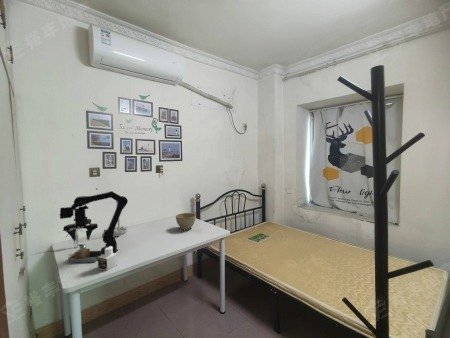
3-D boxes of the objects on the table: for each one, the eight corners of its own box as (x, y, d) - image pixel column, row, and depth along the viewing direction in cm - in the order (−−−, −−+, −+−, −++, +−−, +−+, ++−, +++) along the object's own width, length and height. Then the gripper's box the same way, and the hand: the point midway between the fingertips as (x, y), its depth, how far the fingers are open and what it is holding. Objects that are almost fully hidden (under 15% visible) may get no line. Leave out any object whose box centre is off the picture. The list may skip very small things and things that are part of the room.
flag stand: (118, 238, 178) (117, 201, 177) (106, 236, 183) (105, 200, 182) (131, 233, 190) (129, 198, 189) (119, 231, 195) (118, 198, 194)
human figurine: (67, 250, 155) (66, 225, 154) (65, 249, 157) (64, 224, 157) (86, 245, 165) (85, 221, 164) (84, 244, 167) (82, 220, 166)
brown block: (89, 255, 145) (89, 248, 145) (84, 260, 139) (83, 252, 139) (80, 256, 145) (80, 248, 145) (74, 260, 139) (74, 252, 139)
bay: (109, 250, 154) (109, 242, 153) (95, 262, 136) (95, 253, 136) (80, 251, 153) (80, 243, 153) (62, 263, 136) (62, 254, 136)
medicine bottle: (97, 268, 128) (97, 248, 128) (108, 263, 135) (107, 244, 134) (107, 270, 126) (106, 250, 125) (117, 265, 132) (116, 245, 132)
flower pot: (179, 233, 188) (179, 219, 187) (173, 227, 203) (173, 214, 203) (199, 229, 197) (198, 216, 196) (191, 224, 212) (191, 212, 212)
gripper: (101, 212, 149) (102, 235, 150) (73, 213, 149) (74, 236, 149) (92, 217, 138) (93, 241, 139) (62, 218, 138) (63, 242, 138)
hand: (81, 240), depth 142 cm, fingers open, 8 cm apart
